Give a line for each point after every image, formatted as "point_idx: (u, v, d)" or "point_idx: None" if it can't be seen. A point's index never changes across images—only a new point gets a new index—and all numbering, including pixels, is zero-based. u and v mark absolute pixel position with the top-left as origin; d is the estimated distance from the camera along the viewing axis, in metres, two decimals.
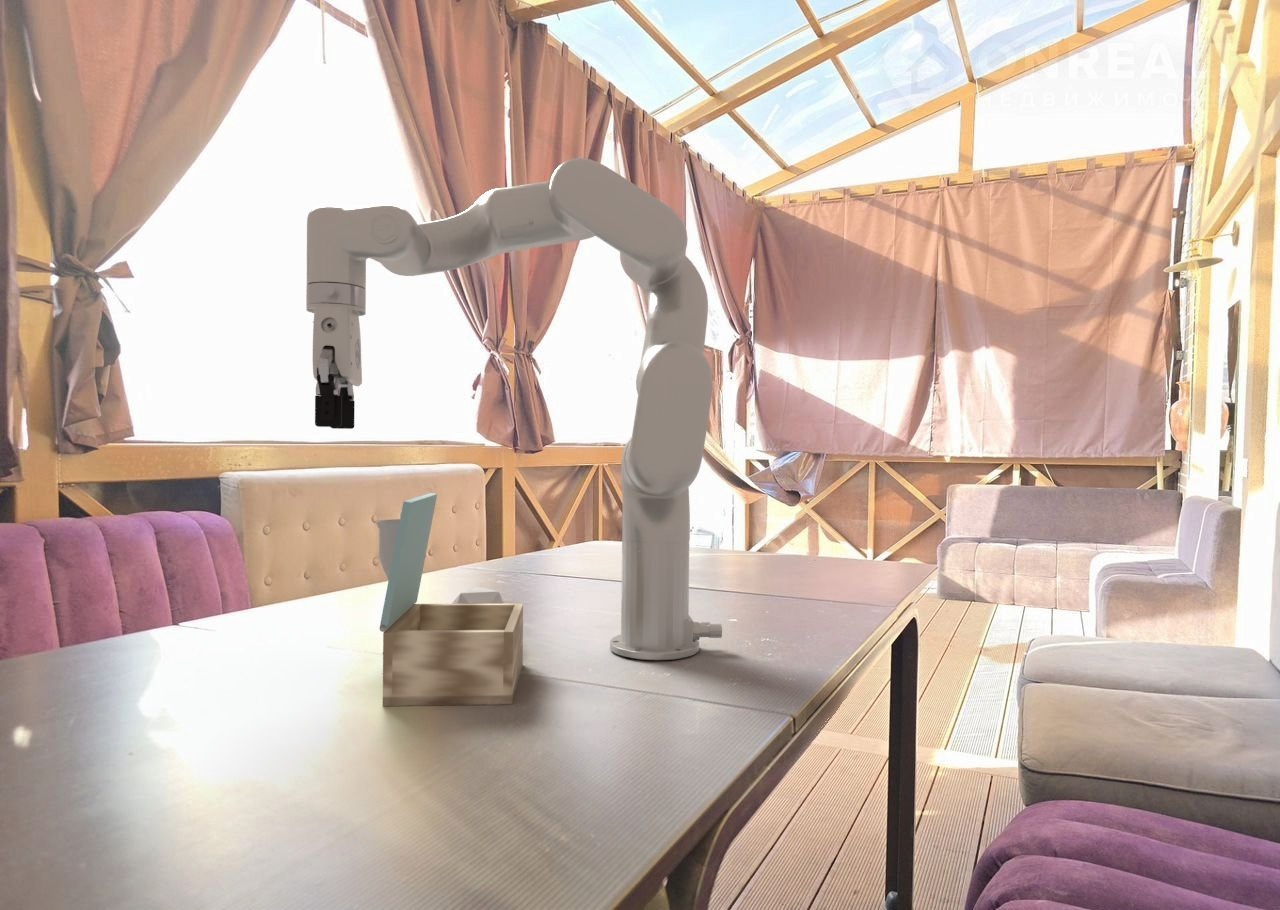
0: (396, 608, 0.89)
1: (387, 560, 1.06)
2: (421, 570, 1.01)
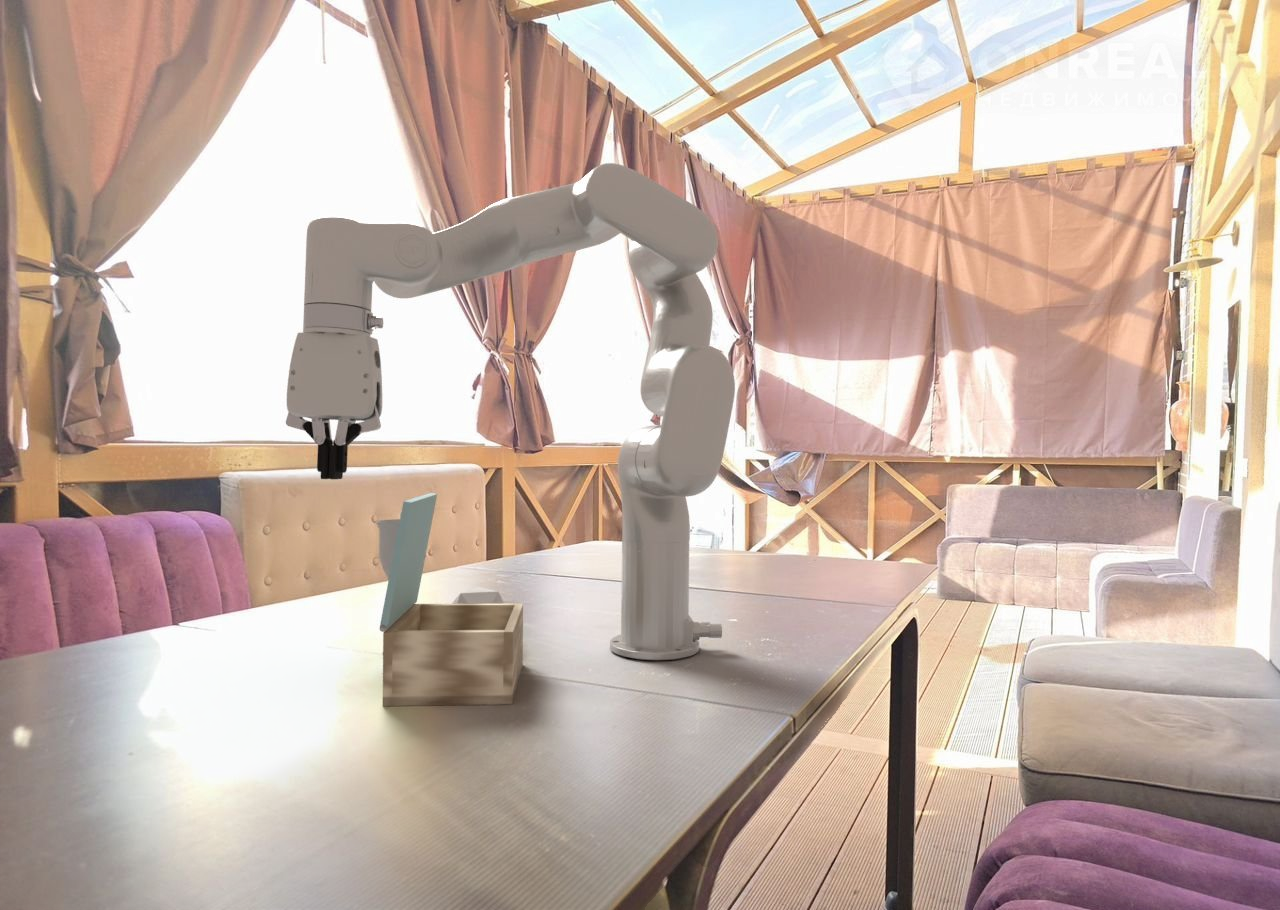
0: (396, 608, 0.89)
1: (387, 560, 1.06)
2: (421, 570, 1.01)
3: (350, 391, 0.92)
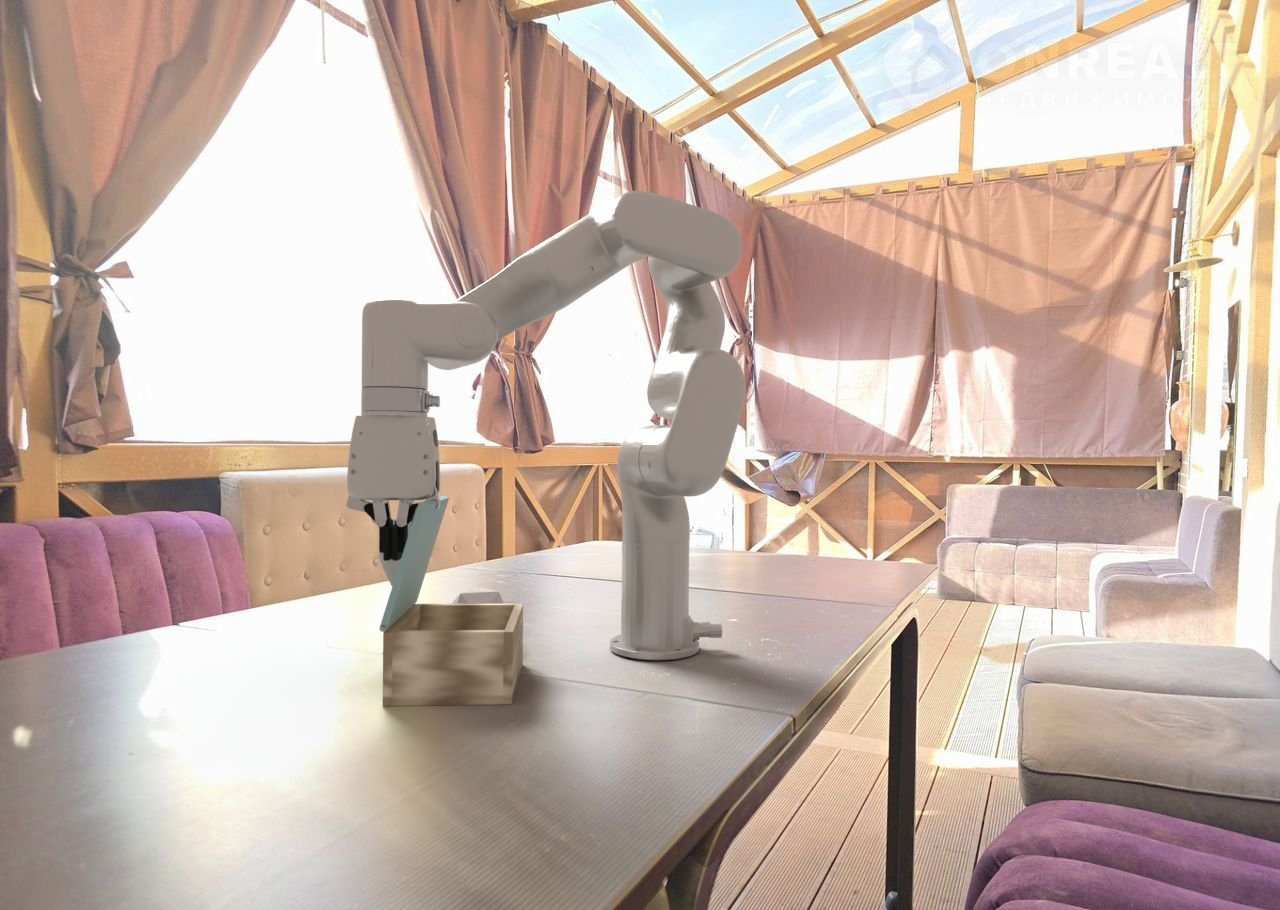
0: (398, 609, 0.89)
1: None
2: (425, 571, 1.01)
3: (411, 473, 0.92)
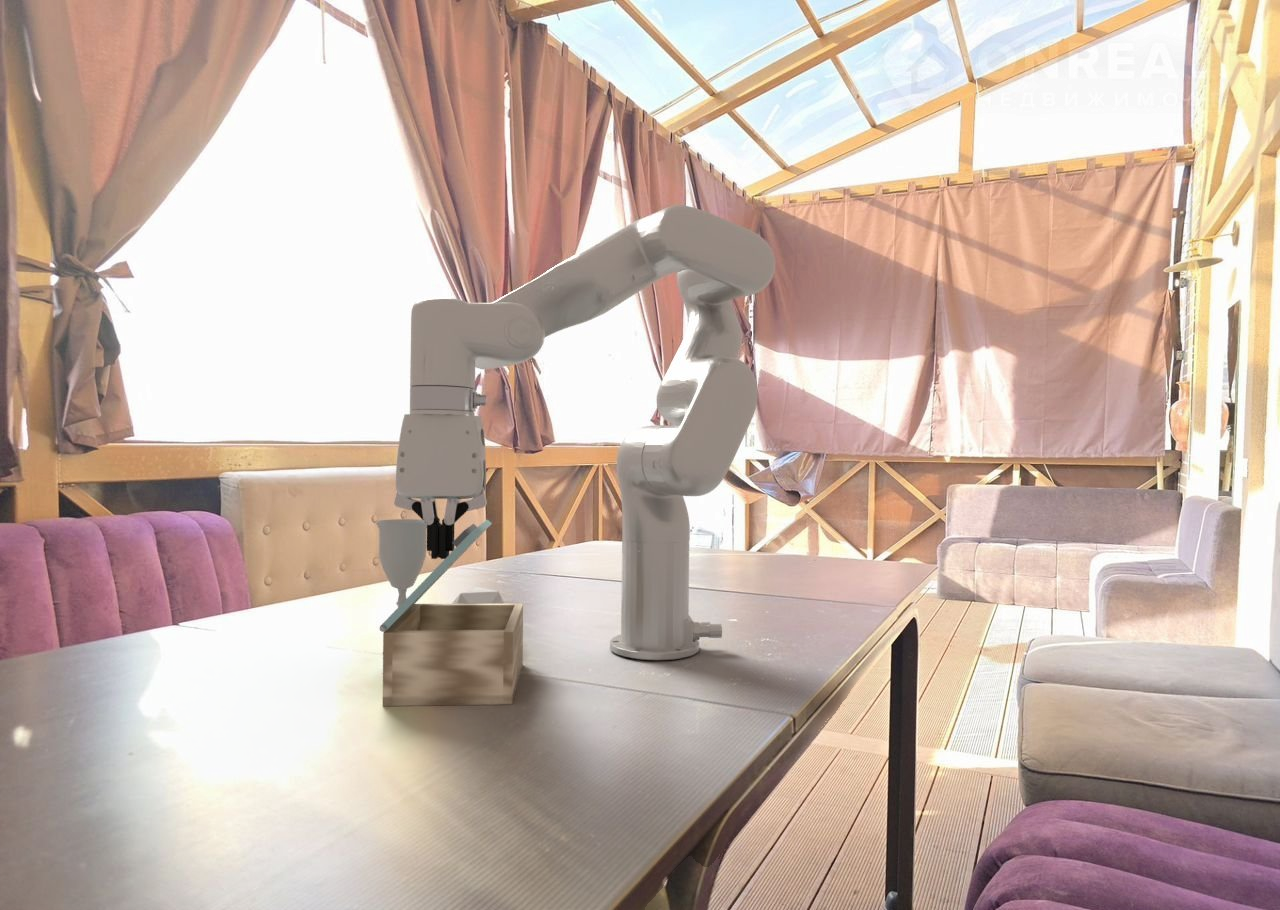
0: None
1: (387, 560, 1.06)
2: None
3: (459, 471, 0.92)
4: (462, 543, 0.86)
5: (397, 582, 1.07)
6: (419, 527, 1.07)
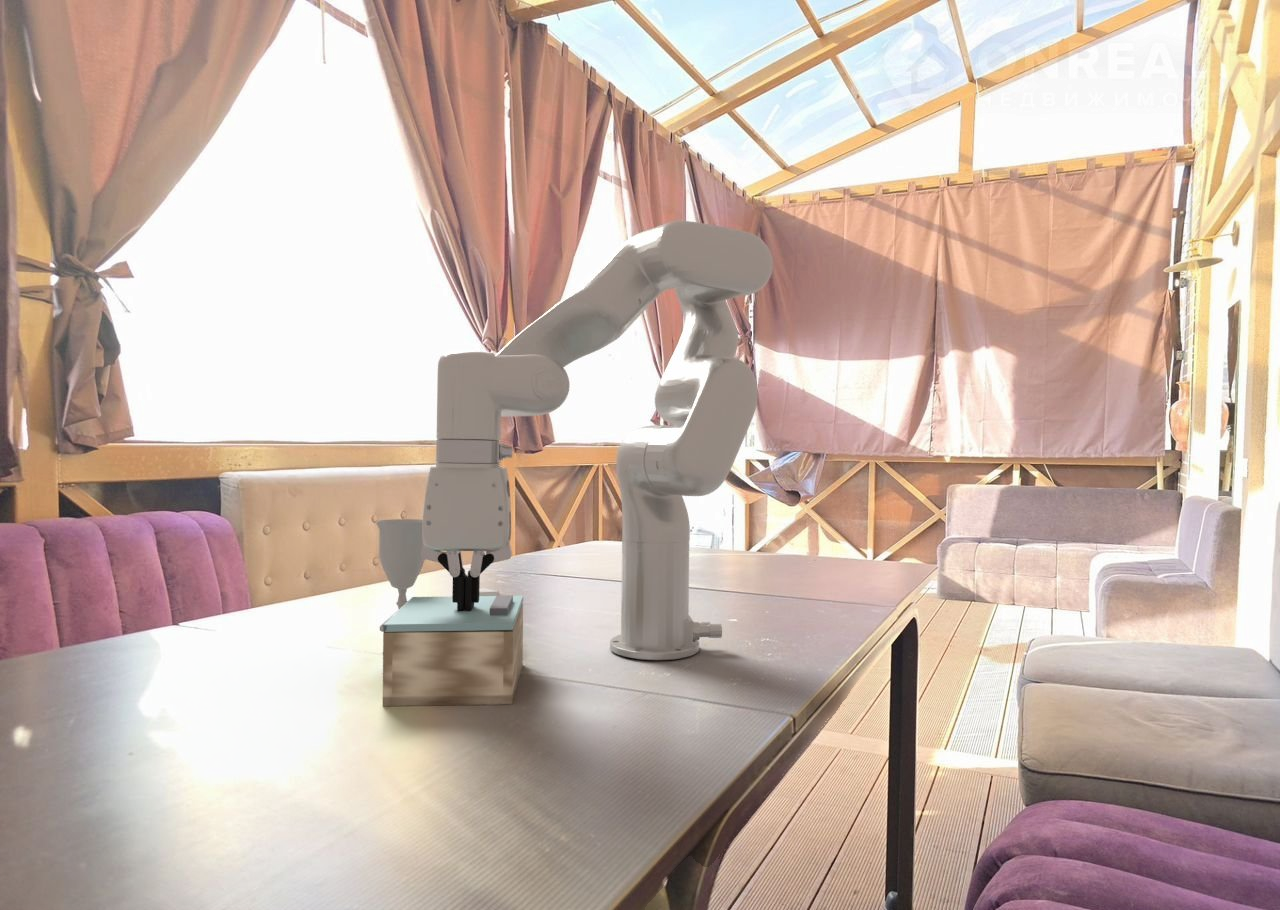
0: None
1: (387, 560, 1.06)
2: None
3: (485, 524, 0.92)
4: (499, 624, 0.87)
5: (397, 582, 1.07)
6: (419, 527, 1.07)
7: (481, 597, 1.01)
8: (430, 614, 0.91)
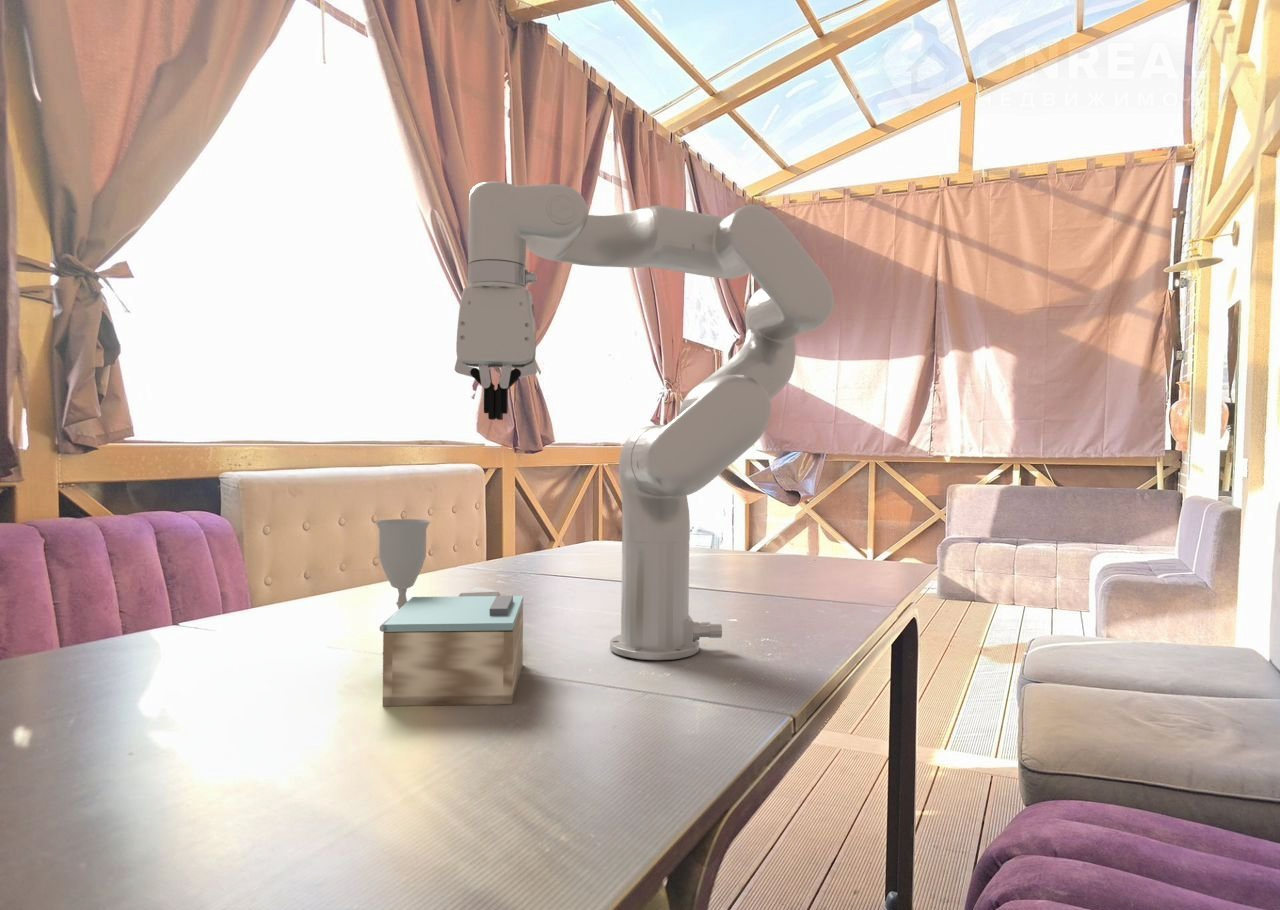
0: None
1: (387, 560, 1.06)
2: None
3: (513, 339, 1.02)
4: (499, 624, 0.87)
5: (397, 582, 1.07)
6: (419, 527, 1.07)
7: (481, 597, 1.01)
8: (430, 614, 0.91)
